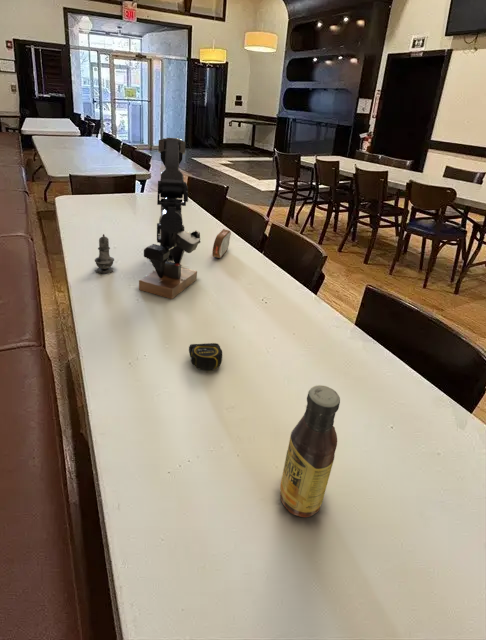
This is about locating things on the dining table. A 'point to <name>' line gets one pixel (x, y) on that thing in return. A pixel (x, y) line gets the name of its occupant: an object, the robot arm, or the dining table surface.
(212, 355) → the tape measure
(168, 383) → the dining table surface
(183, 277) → the wooden block
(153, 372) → the dining table surface
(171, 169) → the robot arm
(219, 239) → the brown white rounded block
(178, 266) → the dark grey block
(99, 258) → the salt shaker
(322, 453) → the sauce bottle
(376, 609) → the dining table surface
